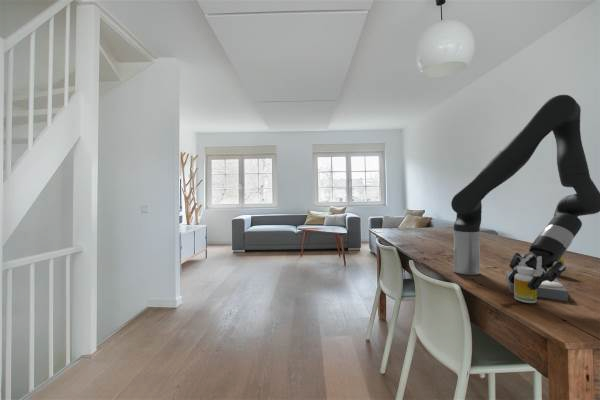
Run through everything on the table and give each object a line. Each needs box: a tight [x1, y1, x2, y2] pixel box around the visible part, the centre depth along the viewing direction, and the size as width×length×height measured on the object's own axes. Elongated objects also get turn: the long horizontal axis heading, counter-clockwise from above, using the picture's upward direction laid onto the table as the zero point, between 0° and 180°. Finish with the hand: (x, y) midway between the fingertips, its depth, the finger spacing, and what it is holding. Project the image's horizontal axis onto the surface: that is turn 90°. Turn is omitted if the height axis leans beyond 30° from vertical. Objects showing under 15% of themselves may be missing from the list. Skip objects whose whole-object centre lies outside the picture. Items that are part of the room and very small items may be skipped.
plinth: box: [505, 270, 569, 302], centre depth 98 cm, size 14×18×3 cm
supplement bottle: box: [513, 266, 538, 304], centre depth 86 cm, size 5×5×10 cm
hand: (520, 284), depth 86 cm, fingers closed on supplement bottle, 5 cm apart
